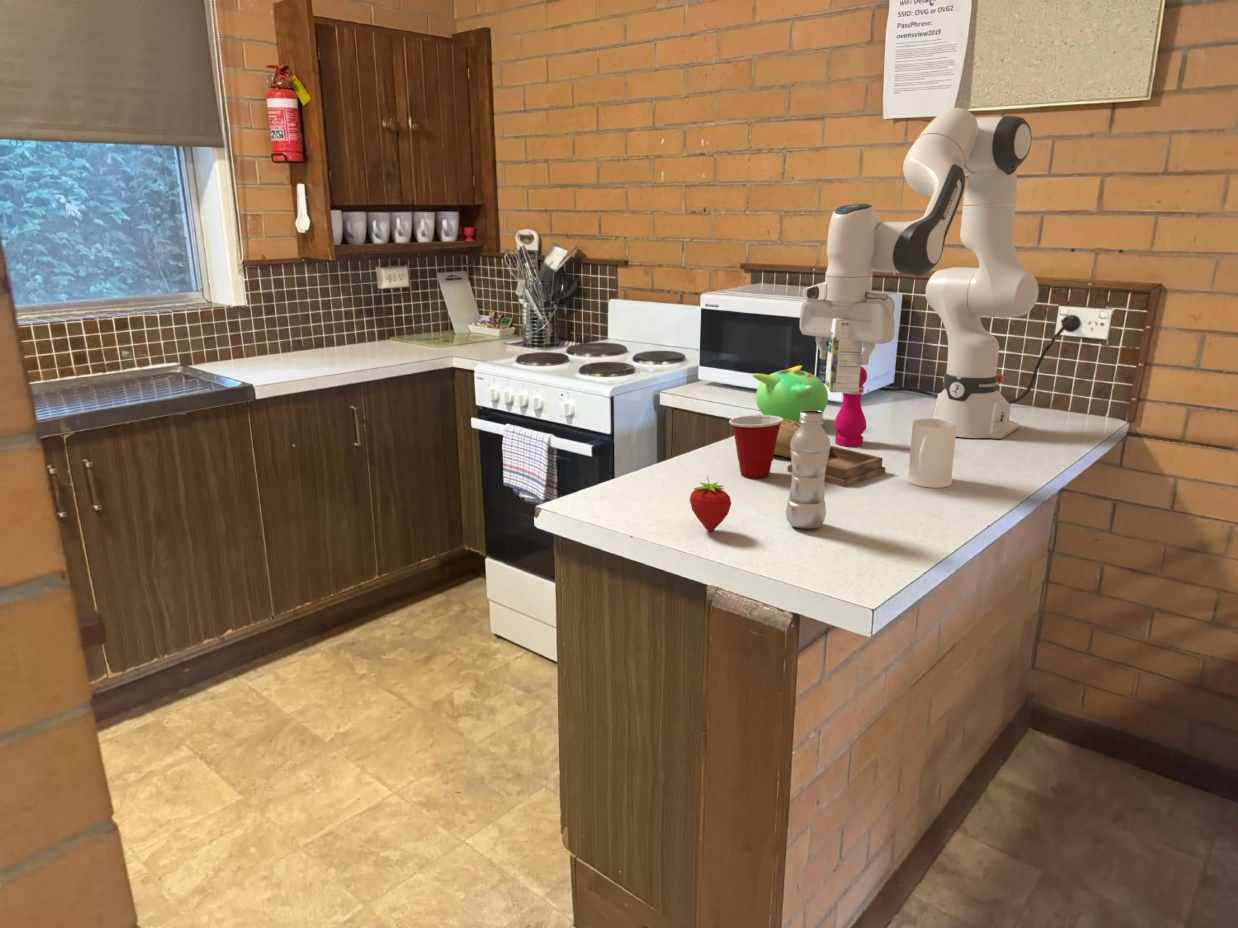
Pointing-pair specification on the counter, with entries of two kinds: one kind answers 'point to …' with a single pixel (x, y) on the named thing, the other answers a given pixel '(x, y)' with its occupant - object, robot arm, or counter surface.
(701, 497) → the strawberry
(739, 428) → the plastic cup
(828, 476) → the walnut stand
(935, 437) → the mug
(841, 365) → the syrup box
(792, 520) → the plastic bottle
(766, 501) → the counter surface
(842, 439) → the pepper mill
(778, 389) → the toy bird
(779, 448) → the bread roll
